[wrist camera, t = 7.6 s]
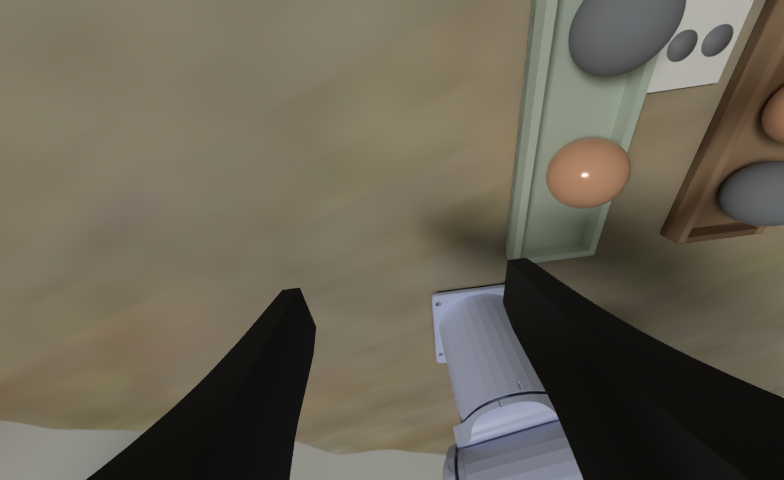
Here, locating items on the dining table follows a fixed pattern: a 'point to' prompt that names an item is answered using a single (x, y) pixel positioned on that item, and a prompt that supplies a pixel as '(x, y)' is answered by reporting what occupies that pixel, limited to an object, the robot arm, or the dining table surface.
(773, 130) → the terracotta ball
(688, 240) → the walnut trough
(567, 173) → the terracotta ball
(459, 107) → the dining table surface
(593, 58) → the grey ball
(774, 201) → the grey ball
